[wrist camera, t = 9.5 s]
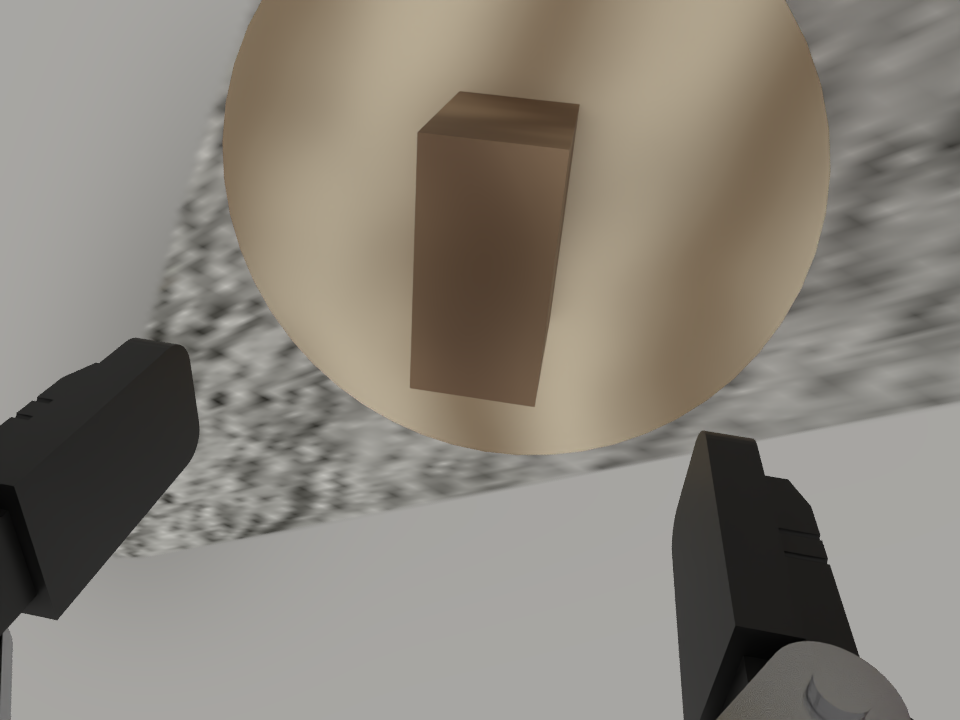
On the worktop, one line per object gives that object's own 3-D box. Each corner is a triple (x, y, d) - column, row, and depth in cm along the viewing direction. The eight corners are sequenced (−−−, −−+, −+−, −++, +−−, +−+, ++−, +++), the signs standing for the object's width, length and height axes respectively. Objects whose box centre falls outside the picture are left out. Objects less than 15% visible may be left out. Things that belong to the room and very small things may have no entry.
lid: (916, -115, 16) (1051, -137, 11) (731, 468, 24) (761, 603, 19) (212, -168, 17) (54, -209, 12) (263, 394, 26) (180, 502, 21)
